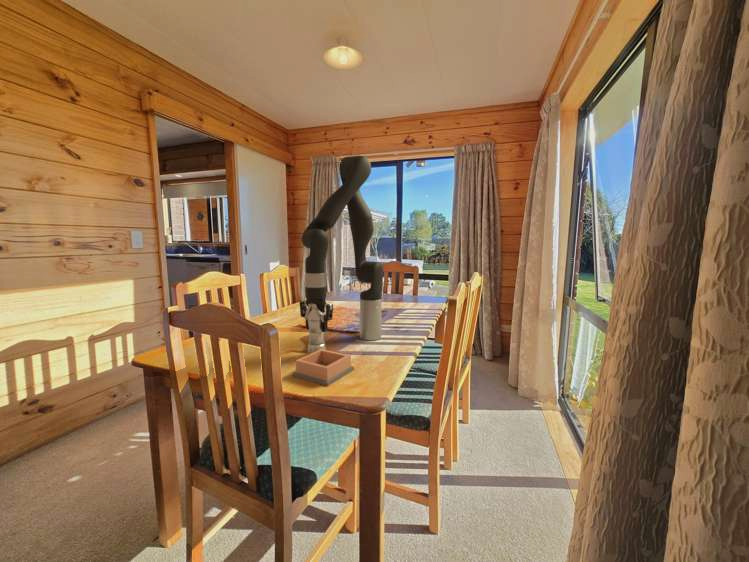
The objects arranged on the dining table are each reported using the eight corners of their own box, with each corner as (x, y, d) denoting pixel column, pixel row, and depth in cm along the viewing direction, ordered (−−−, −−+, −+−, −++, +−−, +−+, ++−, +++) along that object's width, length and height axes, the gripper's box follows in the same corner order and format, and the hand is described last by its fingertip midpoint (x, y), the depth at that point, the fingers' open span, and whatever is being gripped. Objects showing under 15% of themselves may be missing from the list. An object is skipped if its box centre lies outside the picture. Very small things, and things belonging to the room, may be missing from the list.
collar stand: (320, 361, 116) (320, 347, 116) (354, 369, 110) (354, 355, 109) (292, 376, 104) (292, 360, 104) (328, 386, 98) (327, 369, 97)
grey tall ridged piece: (304, 357, 121) (302, 303, 118) (315, 351, 127) (314, 300, 124) (318, 360, 118) (317, 305, 115) (329, 354, 124) (328, 301, 121)
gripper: (338, 285, 118) (338, 330, 121) (307, 282, 126) (308, 325, 128) (325, 288, 112) (325, 335, 114) (293, 284, 119) (294, 329, 121)
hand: (316, 330), depth 121 cm, fingers open, 6 cm apart
